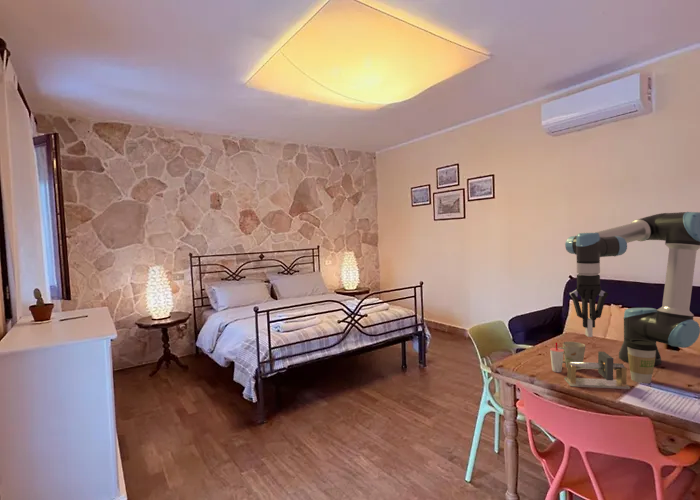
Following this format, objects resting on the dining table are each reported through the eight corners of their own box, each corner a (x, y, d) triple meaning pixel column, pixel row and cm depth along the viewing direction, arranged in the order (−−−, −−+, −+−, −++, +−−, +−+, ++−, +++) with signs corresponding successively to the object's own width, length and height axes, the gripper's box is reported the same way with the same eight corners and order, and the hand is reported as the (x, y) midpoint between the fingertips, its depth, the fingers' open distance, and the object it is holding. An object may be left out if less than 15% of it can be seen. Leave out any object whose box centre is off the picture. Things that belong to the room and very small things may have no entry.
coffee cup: (658, 387, 148) (659, 347, 148) (626, 382, 154) (626, 343, 153) (655, 378, 157) (656, 340, 156) (624, 374, 162) (625, 337, 161)
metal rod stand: (621, 381, 154) (621, 360, 154) (630, 389, 147) (630, 366, 147) (564, 379, 158) (564, 358, 158) (570, 386, 151) (570, 364, 151)
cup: (550, 372, 166) (550, 343, 165) (548, 368, 171) (548, 340, 170) (565, 373, 164) (565, 344, 163) (563, 369, 169) (563, 341, 168)
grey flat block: (603, 372, 156) (604, 351, 155) (613, 380, 148) (613, 358, 147) (598, 372, 156) (598, 351, 156) (607, 380, 148) (607, 358, 148)
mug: (588, 371, 166) (588, 347, 165) (555, 370, 168) (555, 346, 168) (581, 364, 174) (581, 341, 173) (549, 363, 176) (549, 340, 176)
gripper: (603, 272, 153) (603, 333, 155) (565, 273, 156) (566, 333, 157) (611, 274, 146) (612, 338, 147) (572, 275, 148) (573, 338, 150)
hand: (589, 335), depth 152 cm, fingers closed
